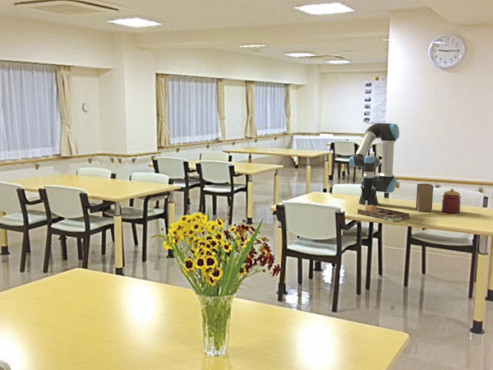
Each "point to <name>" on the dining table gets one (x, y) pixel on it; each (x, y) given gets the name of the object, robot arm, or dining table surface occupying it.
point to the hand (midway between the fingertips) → (367, 209)
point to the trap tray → (385, 214)
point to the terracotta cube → (371, 208)
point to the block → (424, 197)
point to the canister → (451, 202)
